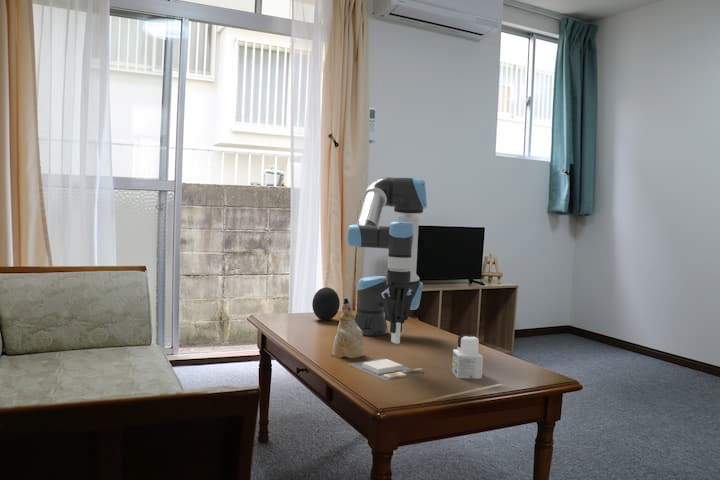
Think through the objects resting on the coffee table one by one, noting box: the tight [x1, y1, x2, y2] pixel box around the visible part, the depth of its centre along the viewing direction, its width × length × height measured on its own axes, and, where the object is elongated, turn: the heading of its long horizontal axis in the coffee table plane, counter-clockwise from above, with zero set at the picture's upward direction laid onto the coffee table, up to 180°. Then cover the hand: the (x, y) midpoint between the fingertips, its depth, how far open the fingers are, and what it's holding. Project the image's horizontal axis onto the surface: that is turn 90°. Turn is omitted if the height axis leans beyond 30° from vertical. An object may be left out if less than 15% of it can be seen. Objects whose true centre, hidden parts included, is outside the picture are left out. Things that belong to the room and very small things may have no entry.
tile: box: [362, 358, 404, 374], centre depth 179 cm, size 2×8×10 cm
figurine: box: [330, 297, 365, 359], centre depth 195 cm, size 12×10×20 cm
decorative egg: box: [311, 287, 341, 322], centre depth 255 cm, size 12×12×15 cm
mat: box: [348, 357, 424, 381], centre depth 180 cm, size 15×20×1 cm
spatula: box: [383, 367, 425, 380], centre depth 174 cm, size 15×3×1 cm, turn 126°
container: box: [451, 334, 484, 380], centre depth 177 cm, size 8×8×13 cm
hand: (395, 342), depth 182 cm, fingers closed
